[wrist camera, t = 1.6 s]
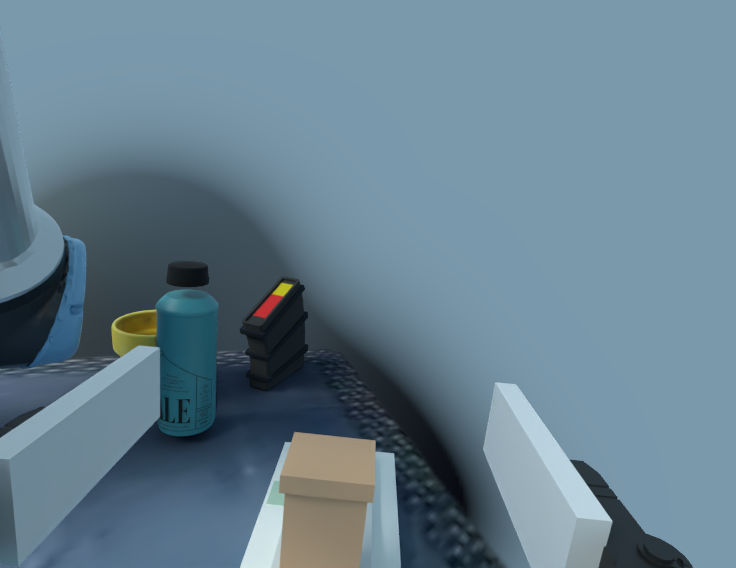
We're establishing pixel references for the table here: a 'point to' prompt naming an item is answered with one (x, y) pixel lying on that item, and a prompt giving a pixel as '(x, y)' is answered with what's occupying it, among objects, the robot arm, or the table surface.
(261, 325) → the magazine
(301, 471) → the switch tab
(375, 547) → the switch panel
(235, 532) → the table surface
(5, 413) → the table surface
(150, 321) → the plant pot
